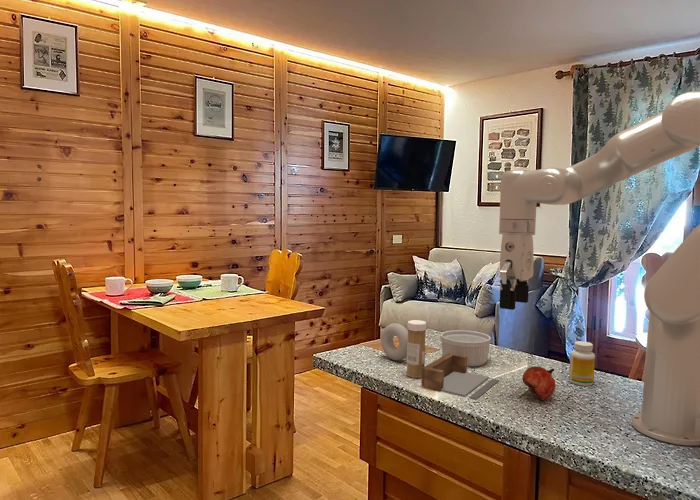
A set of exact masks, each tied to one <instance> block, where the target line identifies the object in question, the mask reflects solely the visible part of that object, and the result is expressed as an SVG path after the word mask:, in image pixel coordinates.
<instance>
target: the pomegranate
mask: <svg viewBox="0 0 700 500" xmlns="http://www.w3.org/2000/svg"><path fill="white" fill-rule="evenodd" d="M553 372H555V369H554V368H551V369H549V370H548V369H546V368H544V367H542V366H535V365H534V366H531V367H528V368H526V370H525V371H524V373H523V375H522V382H523V385H525V386H526V387H528V389H527V390H525V392H524V393H523V394H522V395H520V396H519V397H518V398H519V399H522V398H523V397H524V396H526V395H527V394H528V393H530V394H531V395H532V396H535V397H537V398H538V399H539V400H541V401H544V400H547V399H549V398H551V397H552V396H553V394H554V393H555V390H556V380H555V378H554V377H553V375H552V373H553Z"/></svg>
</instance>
